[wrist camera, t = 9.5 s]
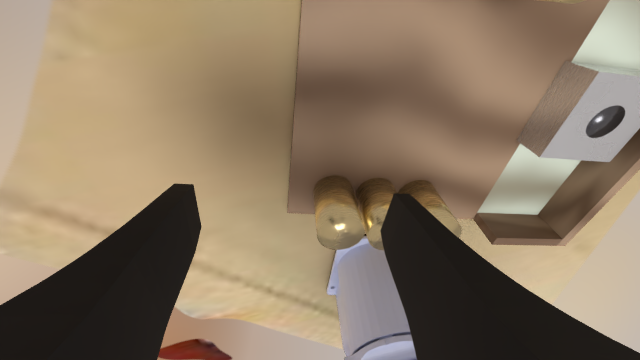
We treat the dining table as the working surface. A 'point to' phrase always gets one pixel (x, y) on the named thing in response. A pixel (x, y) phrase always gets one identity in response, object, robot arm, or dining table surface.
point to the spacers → (371, 206)
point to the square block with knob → (585, 113)
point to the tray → (456, 105)
